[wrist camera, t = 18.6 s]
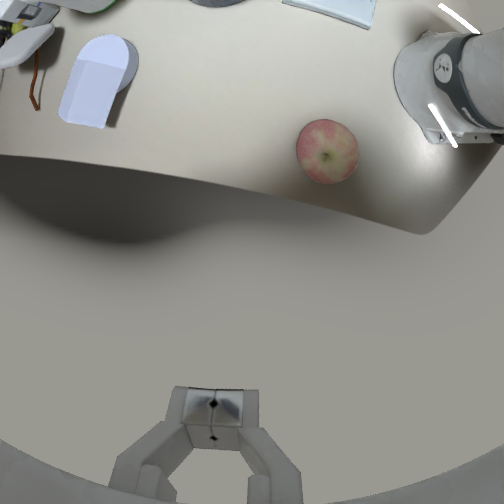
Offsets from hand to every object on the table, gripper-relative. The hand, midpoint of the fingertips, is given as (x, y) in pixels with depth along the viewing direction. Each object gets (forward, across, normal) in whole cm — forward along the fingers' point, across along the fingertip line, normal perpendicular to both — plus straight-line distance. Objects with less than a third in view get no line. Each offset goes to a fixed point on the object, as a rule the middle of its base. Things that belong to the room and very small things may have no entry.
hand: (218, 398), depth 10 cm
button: (+24, +34, -24) cm, 48 cm away
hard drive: (+33, -12, -30) cm, 46 cm away
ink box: (+33, +35, -36) cm, 60 cm away
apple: (+33, -10, -6) cm, 35 cm away
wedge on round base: (+33, +20, -18) cm, 43 cm away
